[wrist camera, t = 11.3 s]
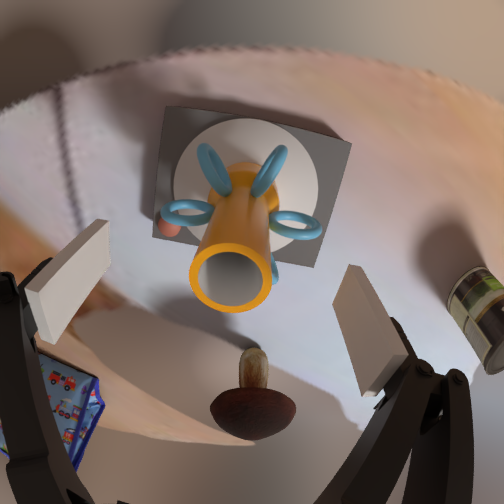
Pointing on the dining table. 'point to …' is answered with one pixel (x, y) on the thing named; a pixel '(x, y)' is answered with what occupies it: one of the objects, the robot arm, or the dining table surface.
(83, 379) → the lunch bag
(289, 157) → the mount slab
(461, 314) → the coffee can
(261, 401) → the decorative mushroom
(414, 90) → the dining table surface
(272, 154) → the yellow tube with rings
